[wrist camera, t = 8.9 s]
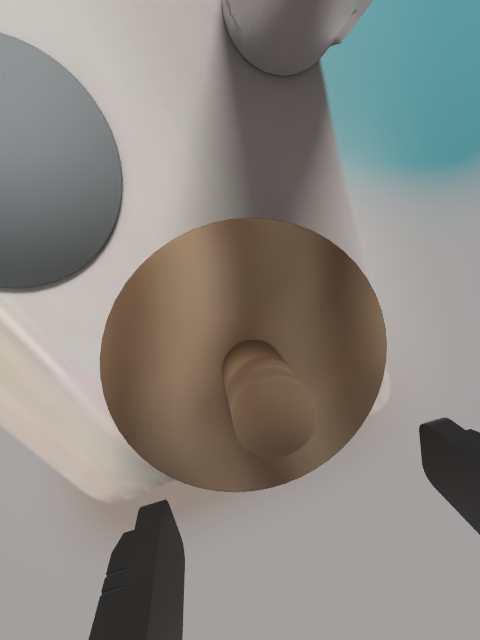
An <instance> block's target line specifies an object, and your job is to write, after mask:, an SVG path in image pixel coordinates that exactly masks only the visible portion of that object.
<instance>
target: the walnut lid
mask: <svg viewBox="0 0 480 640" xmlns="http://www.w3.org/2000/svg"><path fill="white" fill-rule="evenodd" d="M386 349H387V342H386V329H385V324H384V319H383V315H382V310H381V308H380V305H379V302H378V299H377V297H376V294H375V293H374V290H373V289H372V287H371V285H370V283H369V281H368V279H367V278H366V276H365V275H364V274H363V272H362V271H361V270H360V268H359V267H358V266H357V264H356V263H355V262H354V261H353V260H352V259H351V258H350V257H349V256H348V255H347V254H346V253H345V252H344V251H343V250H341V249H340V248H339V247H337V246H336V245H335V244H333V243H332V242H331V241H329V240H328V239H326V238H324V237H322V236H321V235H319V234H317V233H315V232H313V231H311V230H309V229H306V228H303V227H301V226H298V225H296V224H292V223H288V222H283V221H279V220H274V219H263V218H241V219H230V220H225V221H220V222H215V223H211V224H208V225H205V226H202V227H199V228H196V229H194V230H191V231H189V232H187V233H185V234H183V235H181V236H179V237H177V238H175V239H173V240H172V241H170V242H169V243H167V244H166V245H165V246H163V247H162V248H160V249H159V250H157V251H156V252H155V253H153V254H152V255H151V256H150V257H149V258H148V259H147V260H146V261H145V262H144V263H143V264H142V265H141V266H139V268H138V269H137V270H136V271H135V272H134V274H133V275H132V276H131V277H130V279H129V280H128V281H127V282H126V284H125V285H124V287H123V289H122V290H121V292H120V294H119V295H118V297H117V299H116V300H115V302H114V305H113V307H112V309H111V312H110V314H109V316H108V319H107V322H106V326H105V330H104V334H103V337H102V344H101V353H100V374H101V382H102V388H103V393H104V397H105V400H106V403H107V406H108V409H109V412H110V414H111V416H112V418H113V420H114V422H115V424H116V426H117V428H118V430H119V431H120V432H121V434H122V435H123V437H124V438H125V439H126V441H127V442H128V444H129V445H130V446H131V447H132V448H133V449H134V450H135V451H136V452H137V453H138V454H139V455H140V456H141V457H142V458H143V459H144V460H146V461H147V462H148V463H149V464H151V465H152V466H153V467H154V468H156V469H158V470H159V471H161V472H163V473H164V474H166V475H168V476H169V477H172V478H174V479H176V480H178V481H181V482H183V483H185V484H189V485H192V486H195V487H199V488H203V489H209V490H215V491H225V492H245V491H255V490H261V489H267V488H271V487H275V486H278V485H281V484H285V483H287V482H290V481H292V480H295V479H297V478H300V477H302V476H304V475H305V474H307V473H309V472H311V471H313V470H314V469H316V468H317V467H319V466H320V465H322V464H323V463H325V462H326V461H328V460H329V459H330V458H331V457H333V456H334V455H335V454H336V453H337V452H339V451H340V450H341V449H342V448H343V447H344V446H345V445H346V444H347V443H348V442H349V440H350V439H351V438H352V437H353V436H354V435H355V433H356V432H357V431H358V429H359V428H360V427H361V425H362V424H363V422H364V421H365V419H366V417H367V416H368V414H369V412H370V411H371V409H372V407H373V404H374V402H375V400H376V398H377V395H378V393H379V389H380V386H381V383H382V380H383V375H384V369H385V364H386Z"/></svg>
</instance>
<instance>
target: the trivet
mask: <svg viewBox="0 0 480 640" xmlns="http://www.w3.org/2000/svg"><path fill="white" fill-rule="evenodd" d="M121 198H122V170H121V162H120V157H119V153H118V149H117V145H116V142H115V140H114V137H113V134H112V131H111V129H110V127H109V125H108V123H107V121H106V119H105V117H104V115H103V113H102V112H101V110H100V109H99V107H98V106H97V104H96V102H95V101H94V99H93V98H92V97H91V95H90V94H89V93H88V92H87V90H86V89H85V88H84V87H83V86H82V84H81V83H80V82H79V81H78V80H77V79H76V78H75V77H74V76H73V75H72V74H71V73H70V72H69V71H68V70H67V69H66V68H65V67H63V66H62V65H61V64H59V63H58V62H57V61H56V60H54V59H53V58H52V57H50V56H49V55H47V54H46V53H44V52H42V51H41V50H39V49H38V48H36V47H34V46H32V45H30V44H28V43H26V42H24V41H22V40H19V39H17V38H15V37H12V36H9V35H6V34H2V33H0V287H6V288H22V287H32V286H38V285H43V284H47V283H50V282H53V281H56V280H59V279H61V278H64V277H66V276H68V275H70V274H72V273H73V272H75V271H77V270H78V269H80V268H81V267H83V266H84V265H85V264H86V263H87V262H89V261H90V260H91V259H92V258H93V257H94V256H95V255H96V254H97V253H98V251H99V250H100V249H101V248H102V247H103V245H104V244H105V242H106V241H107V239H108V237H109V236H110V234H111V232H112V230H113V227H114V225H115V223H116V220H117V217H118V213H119V210H120V204H121Z"/></svg>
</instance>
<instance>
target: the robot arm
mask: <svg viewBox="0 0 480 640" xmlns="http://www.w3.org/2000/svg"><path fill="white" fill-rule="evenodd" d="M372 2H373V0H222V6H223V16H224V20H225V23H226V27H227V30H228V33H229V35H230V37H231V39H232V41H233V43H234V45H235V46H236V48H237V49H238V50H239V52H240V53H241V54H242V56H243V57H244V58H245V59H246V60H248V61H249V62H250V63H251V64H252V65H253V66H255V67H257V68H258V69H260V70H262V71H264V72H267V73H270V74H274V75H285V76H288V75H293V74H297V73H300V72H302V71H304V70H306V69H308V68H310V67H311V66H312V65H314V64H315V63H316V62H317V61H318V60H319V59H320V58H321V57H322V56H323V54H324V53H325V52H326V50H327V49H328V48H329V47H330V46H332V45H335V44H340V43H342V41H343V40H344V39H345V38H346V36H347V35H348V33H349V32H350V31H351V30H352V28H353V27H354V26H355V24H356V23H357V22H358V20H359V19H360V18H361V16H362V15H363V13H364V12H365V11H366V10H367V8H368V7H369V5H370V4H371V3H372ZM419 433H420V443H421V455H422V465H423V469H424V472H425V474H426V476H427V478H428V479H429V481H430V482H431V484H432V485H433V486H434V487H435V488H436V489H437V490H438V492H439V493H441V495H442V496H443V497H444V498H445V499H446V500H447V501H448V502H449V503H450V504H451V505H452V506H453V507H454V508H455V509H456V510H457V511H458V512H459V513H460V514H461V516H463V518H465V520H466V521H467V522H468V523H469V524H470V525H471V526H472V527H473V528H474V529H475V530H476V531H477V532H478V533H479V534H480V433H479V432H477V431H474V430H472V429H469V430H464V429H463V428H462V427H460V426H459V425H457V424H456V423H454V422H453V421H452V420H450V419H448V418H441V419H437V420H434V421H431V422H427V423H424V424H421V425H420V428H419ZM184 572H185V556H184V548H183V542H182V539H181V536H180V533H179V530H178V527H177V525H176V522H175V519H174V517H173V514H172V511H171V508H170V506H169V504H168V502H167V500H163V501H160V502H156V503H153V504H149V505H146V506H143V507H140V509H139V511H138V516H137V521H136V525H135V530H132V531H129V532H126V533H124V534H123V535H122V537H121V539H120V540H119V542H118V544H117V545H116V547H115V548H114V550H113V552H112V554H111V558H110V561H109V565H108V569H107V573H106V575H107V577H106V578H105V580H104V584H103V588H102V596H100V599H99V603H98V607H97V610H96V614H95V618H94V622H93V625H92V629H91V633H90V637H89V640H182V633H183V601H184Z"/></svg>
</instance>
